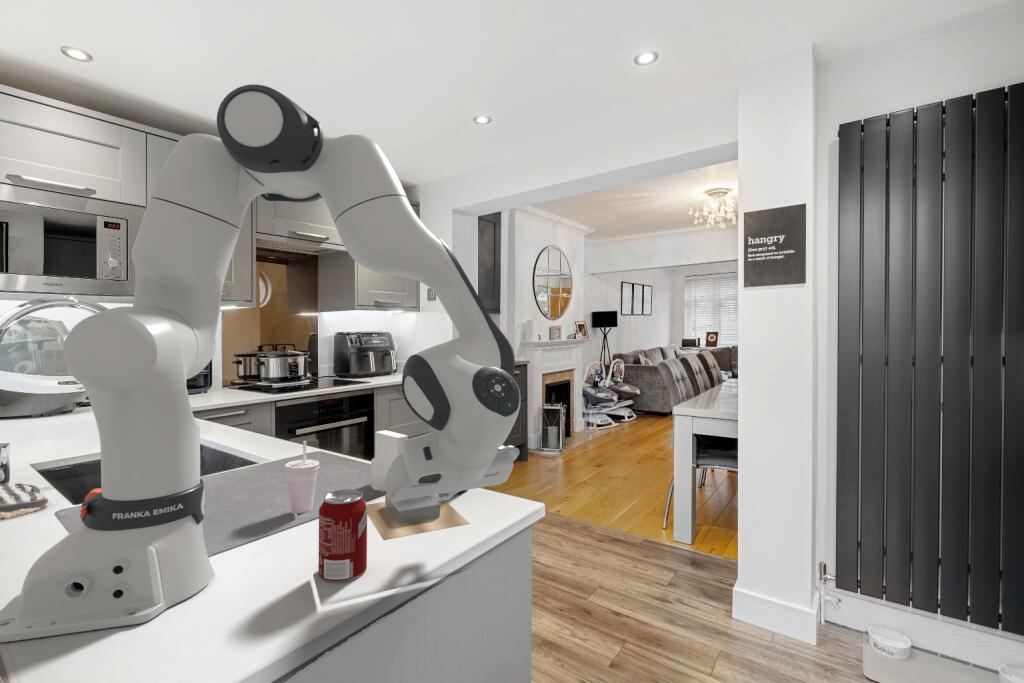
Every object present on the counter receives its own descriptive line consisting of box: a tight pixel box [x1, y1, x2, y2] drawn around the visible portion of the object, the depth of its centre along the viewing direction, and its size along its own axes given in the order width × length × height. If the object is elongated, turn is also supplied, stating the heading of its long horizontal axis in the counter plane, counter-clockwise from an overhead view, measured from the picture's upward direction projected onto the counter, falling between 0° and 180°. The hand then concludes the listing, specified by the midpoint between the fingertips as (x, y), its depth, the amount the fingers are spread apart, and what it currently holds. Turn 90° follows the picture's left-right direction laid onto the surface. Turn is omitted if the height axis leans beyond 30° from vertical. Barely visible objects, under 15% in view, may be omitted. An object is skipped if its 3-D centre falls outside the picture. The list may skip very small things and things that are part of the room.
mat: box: [367, 500, 471, 541], centre depth 95 cm, size 16×18×1 cm
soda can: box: [318, 488, 368, 584], centre depth 73 cm, size 7×7×12 cm
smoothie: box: [284, 440, 320, 514], centre depth 97 cm, size 6×6×14 cm
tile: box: [384, 493, 440, 524], centre depth 96 cm, size 8×2×10 cm
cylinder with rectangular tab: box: [370, 429, 409, 492], centre depth 114 cm, size 9×9×12 cm
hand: (439, 497), depth 83 cm, fingers closed
